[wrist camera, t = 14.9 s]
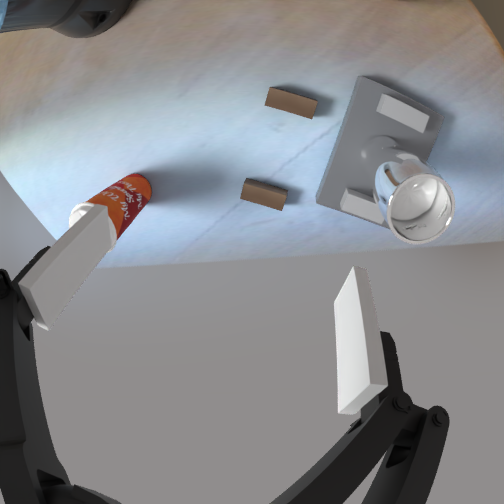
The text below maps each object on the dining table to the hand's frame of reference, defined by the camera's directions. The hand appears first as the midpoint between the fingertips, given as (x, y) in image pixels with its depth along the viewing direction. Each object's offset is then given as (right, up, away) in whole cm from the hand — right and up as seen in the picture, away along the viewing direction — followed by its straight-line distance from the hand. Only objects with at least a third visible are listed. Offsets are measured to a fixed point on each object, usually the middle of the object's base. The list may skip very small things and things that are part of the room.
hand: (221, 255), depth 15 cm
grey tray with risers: (+18, +13, +20) cm, 31 cm away
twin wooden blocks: (+5, +14, +23) cm, 27 cm away
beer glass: (+18, +12, +19) cm, 29 cm away
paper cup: (-17, +10, +30) cm, 36 cm away
